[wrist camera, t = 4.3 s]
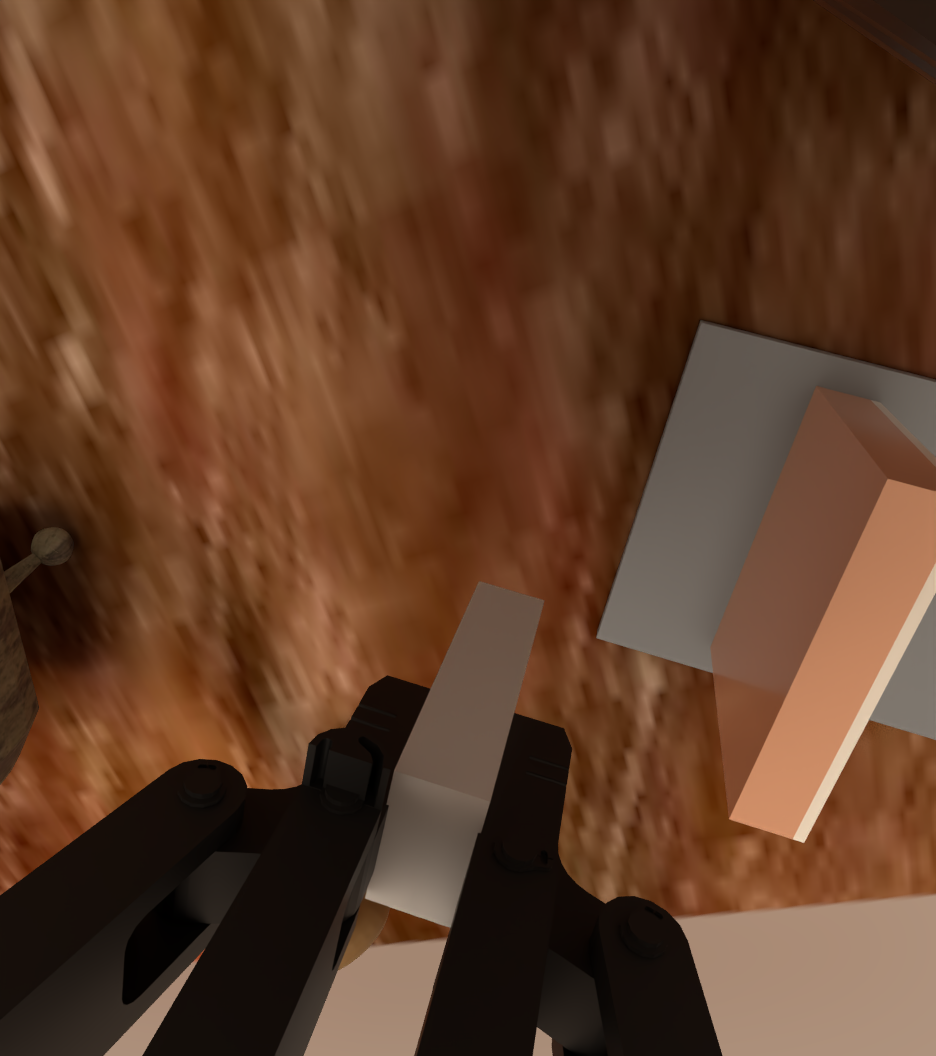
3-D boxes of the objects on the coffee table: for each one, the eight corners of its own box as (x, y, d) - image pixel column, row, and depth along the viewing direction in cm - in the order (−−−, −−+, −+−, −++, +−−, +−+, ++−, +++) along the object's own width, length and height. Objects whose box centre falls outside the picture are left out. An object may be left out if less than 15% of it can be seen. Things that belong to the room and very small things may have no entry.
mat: (597, 630, 31) (596, 638, 31) (700, 319, 26) (701, 322, 26) (1027, 758, 30) (1033, 769, 29) (1224, 452, 25) (1237, 458, 24)
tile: (710, 647, 30) (729, 818, 22) (816, 385, 26) (887, 478, 18) (764, 663, 30) (803, 842, 22) (880, 402, 26) (982, 504, 18)
